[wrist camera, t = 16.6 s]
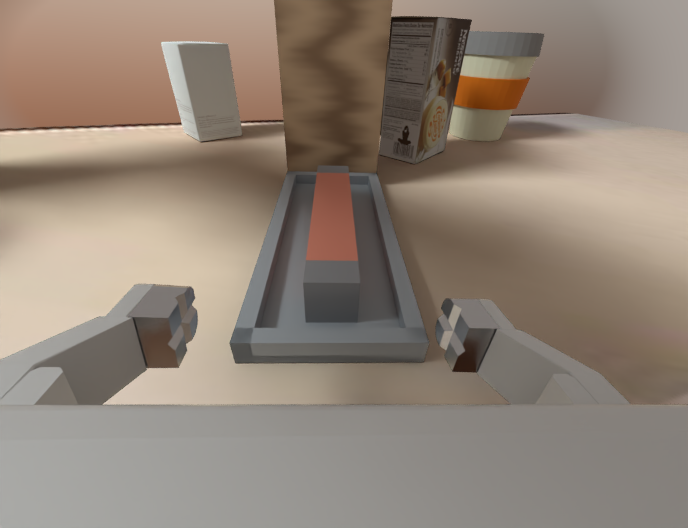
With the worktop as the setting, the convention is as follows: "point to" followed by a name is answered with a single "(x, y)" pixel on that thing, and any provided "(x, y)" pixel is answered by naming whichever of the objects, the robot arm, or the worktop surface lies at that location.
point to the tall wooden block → (332, 81)
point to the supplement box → (203, 89)
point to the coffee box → (421, 85)
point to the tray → (288, 295)
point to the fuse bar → (332, 251)
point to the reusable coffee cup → (492, 82)
